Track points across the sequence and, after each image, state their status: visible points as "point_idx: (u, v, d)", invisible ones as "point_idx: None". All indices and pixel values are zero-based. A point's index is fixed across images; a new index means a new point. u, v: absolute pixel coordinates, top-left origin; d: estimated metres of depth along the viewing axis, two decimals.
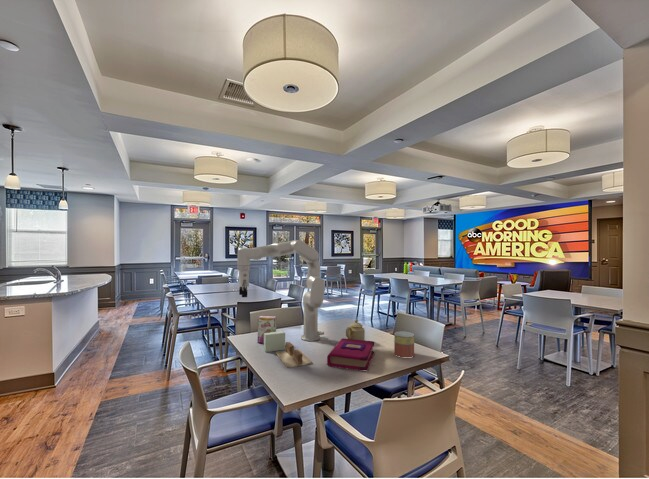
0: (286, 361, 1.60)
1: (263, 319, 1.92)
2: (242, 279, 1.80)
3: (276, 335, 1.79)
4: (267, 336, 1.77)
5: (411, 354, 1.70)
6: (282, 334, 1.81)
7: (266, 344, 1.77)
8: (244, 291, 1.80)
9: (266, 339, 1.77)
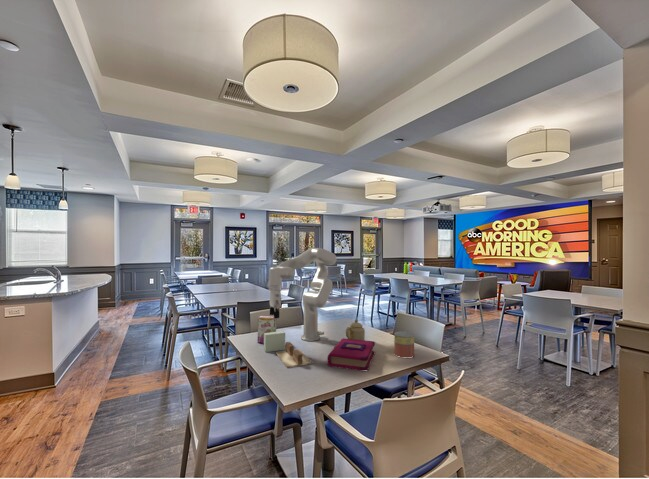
0: (286, 361, 1.60)
1: (263, 319, 1.92)
2: (274, 300, 1.76)
3: (276, 335, 1.79)
4: (267, 336, 1.77)
5: (411, 354, 1.70)
6: (282, 334, 1.81)
7: (266, 344, 1.77)
8: (276, 312, 1.75)
9: (266, 339, 1.77)
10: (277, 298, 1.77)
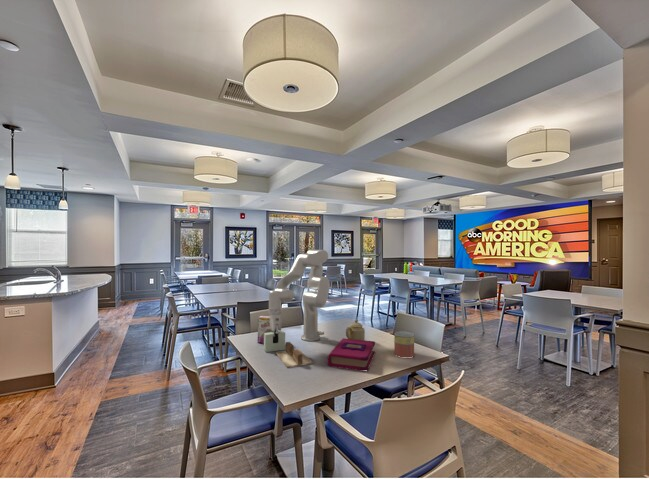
0: (286, 361, 1.60)
1: (263, 319, 1.92)
2: (274, 324, 1.76)
3: None
4: (267, 336, 1.77)
5: (411, 354, 1.70)
6: (282, 334, 1.81)
7: (266, 344, 1.77)
8: (275, 337, 1.78)
9: (266, 339, 1.77)
10: (277, 322, 1.76)
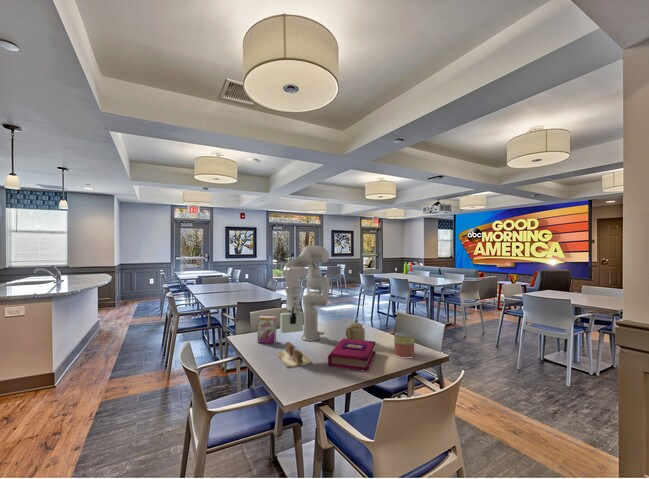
0: (286, 361, 1.60)
1: (263, 319, 1.92)
2: (292, 303, 1.63)
3: None
4: (284, 316, 1.65)
5: (411, 354, 1.70)
6: (300, 314, 1.68)
7: (282, 324, 1.64)
8: (293, 317, 1.65)
9: (283, 319, 1.64)
10: (295, 301, 1.64)
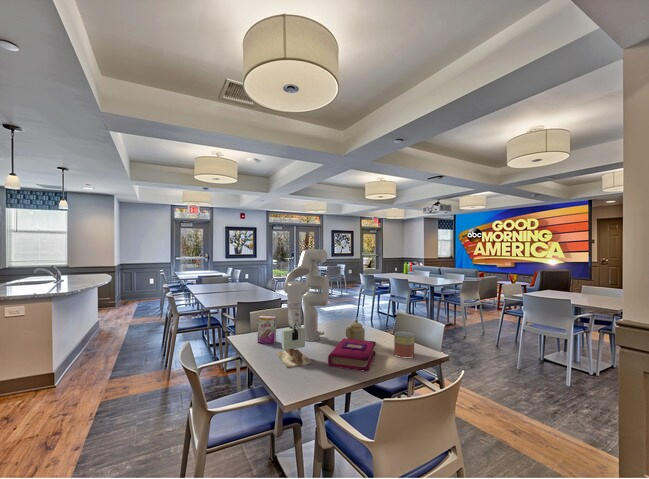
0: (286, 361, 1.60)
1: (263, 319, 1.92)
2: (294, 319, 1.62)
3: None
4: (286, 332, 1.63)
5: (411, 354, 1.70)
6: (302, 330, 1.67)
7: (284, 341, 1.63)
8: (295, 333, 1.64)
9: (285, 336, 1.63)
10: (297, 317, 1.63)
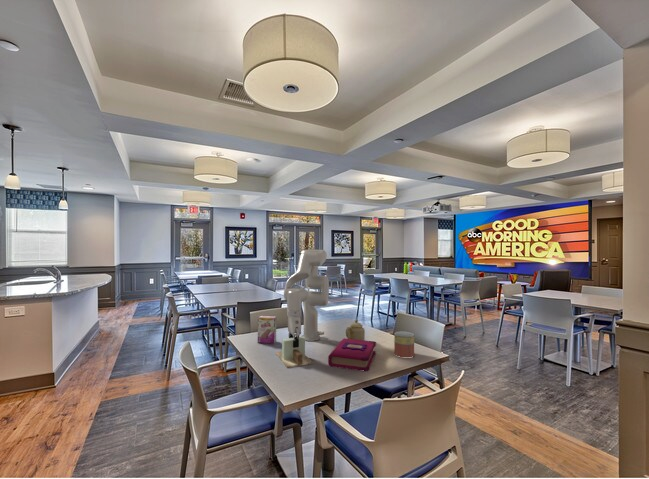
0: (286, 361, 1.60)
1: (263, 319, 1.92)
2: (294, 327, 1.62)
3: None
4: (286, 342, 1.63)
5: (411, 354, 1.70)
6: (302, 340, 1.67)
7: (285, 351, 1.63)
8: (296, 341, 1.62)
9: (285, 346, 1.63)
10: (297, 325, 1.63)
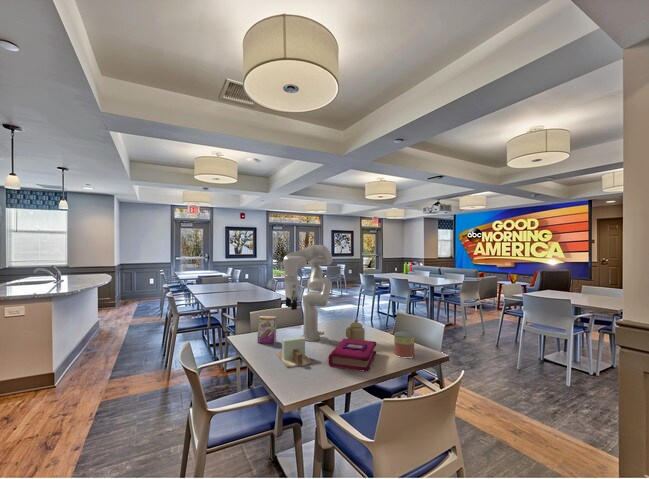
0: (286, 361, 1.60)
1: (263, 319, 1.92)
2: (291, 290, 1.70)
3: (295, 341, 1.65)
4: (286, 342, 1.63)
5: (411, 354, 1.70)
6: (302, 340, 1.67)
7: (285, 351, 1.63)
8: (294, 303, 1.70)
9: (285, 346, 1.63)
10: (294, 289, 1.71)
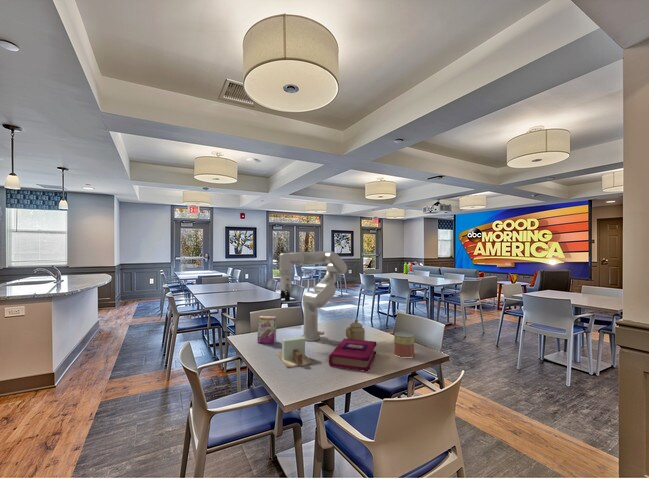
0: (286, 361, 1.60)
1: (263, 319, 1.92)
2: (285, 283, 1.85)
3: (295, 341, 1.65)
4: (286, 342, 1.63)
5: (411, 354, 1.70)
6: (302, 340, 1.67)
7: (285, 351, 1.63)
8: (287, 295, 1.85)
9: (285, 346, 1.63)
10: (288, 282, 1.86)
